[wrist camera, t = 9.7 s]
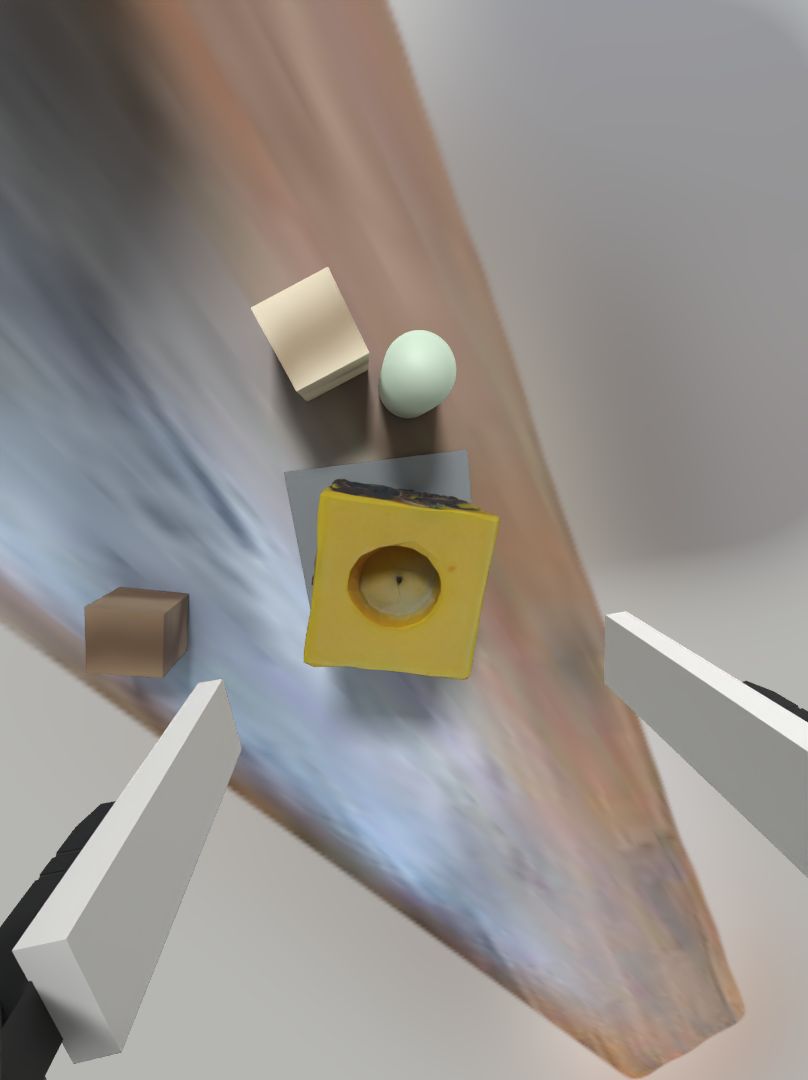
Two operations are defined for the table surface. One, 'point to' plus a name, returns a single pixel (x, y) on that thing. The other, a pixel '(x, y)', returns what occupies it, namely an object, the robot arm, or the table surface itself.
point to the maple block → (313, 335)
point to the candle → (398, 580)
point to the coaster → (413, 472)
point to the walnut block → (136, 632)
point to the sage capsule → (416, 374)
